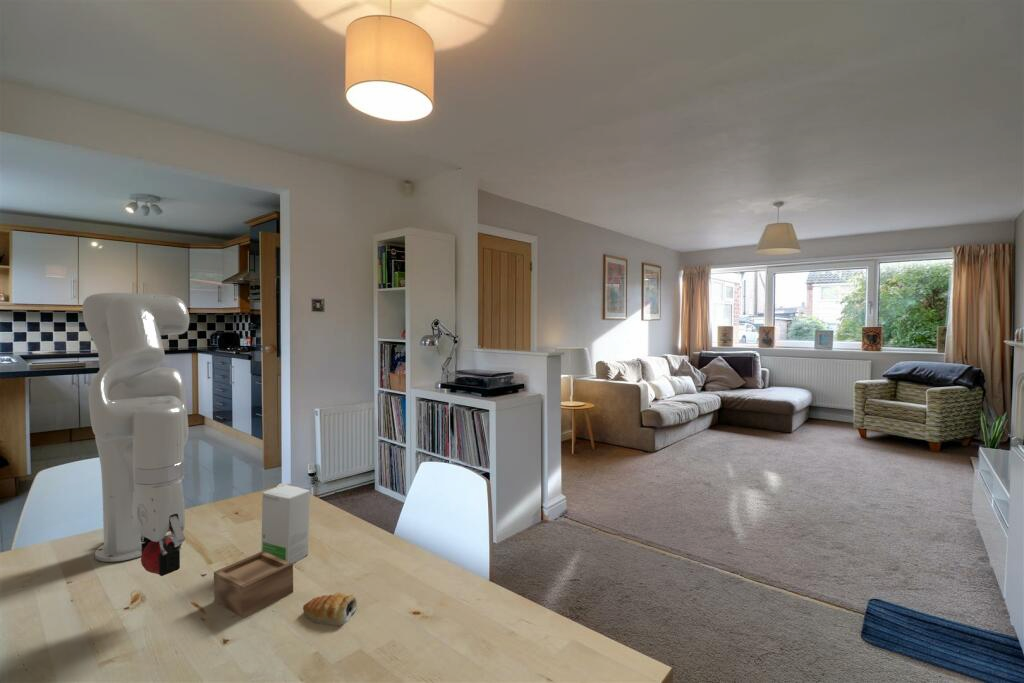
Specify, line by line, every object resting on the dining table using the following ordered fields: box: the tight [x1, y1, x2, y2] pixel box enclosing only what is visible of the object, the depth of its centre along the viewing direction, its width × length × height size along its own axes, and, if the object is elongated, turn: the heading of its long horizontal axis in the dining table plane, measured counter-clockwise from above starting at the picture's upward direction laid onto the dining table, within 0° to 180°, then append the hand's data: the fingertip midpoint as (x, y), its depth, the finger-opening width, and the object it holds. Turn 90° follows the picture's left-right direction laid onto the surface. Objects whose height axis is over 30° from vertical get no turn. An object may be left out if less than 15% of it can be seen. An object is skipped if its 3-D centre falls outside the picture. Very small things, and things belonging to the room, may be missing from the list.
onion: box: [140, 537, 173, 575], centre depth 90 cm, size 6×6×8 cm
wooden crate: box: [213, 551, 294, 619], centre depth 96 cm, size 10×10×6 cm
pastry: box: [302, 592, 358, 627], centre depth 91 cm, size 9×7×4 cm
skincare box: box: [260, 484, 311, 565], centre depth 111 cm, size 8×7×16 cm
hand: (160, 565), depth 91 cm, fingers closed on onion, 5 cm apart
